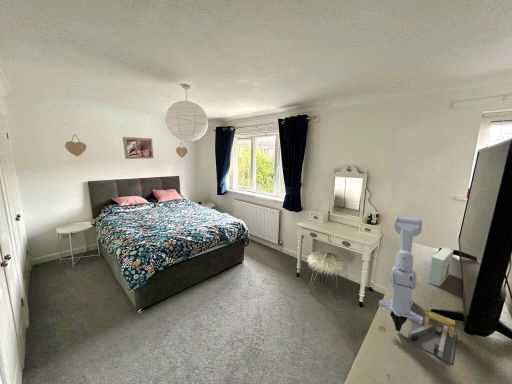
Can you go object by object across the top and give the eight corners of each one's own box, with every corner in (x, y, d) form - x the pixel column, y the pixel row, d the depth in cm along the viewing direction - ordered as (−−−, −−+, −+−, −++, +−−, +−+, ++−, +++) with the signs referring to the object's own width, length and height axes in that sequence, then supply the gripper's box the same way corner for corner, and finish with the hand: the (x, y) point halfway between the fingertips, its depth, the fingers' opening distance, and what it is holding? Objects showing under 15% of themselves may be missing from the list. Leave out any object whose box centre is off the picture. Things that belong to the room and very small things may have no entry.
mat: (416, 316, 93) (416, 316, 93) (456, 333, 84) (456, 333, 84) (406, 341, 81) (406, 340, 81) (451, 364, 72) (452, 363, 72)
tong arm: (429, 328, 86) (429, 324, 86) (435, 332, 84) (435, 327, 84) (408, 337, 82) (408, 332, 82) (413, 341, 80) (413, 336, 80)
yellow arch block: (425, 321, 90) (426, 309, 89) (453, 333, 83) (455, 321, 83) (424, 325, 88) (425, 313, 87) (452, 337, 81) (454, 325, 81)
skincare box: (440, 287, 114) (443, 260, 111) (428, 283, 118) (430, 256, 116) (450, 274, 126) (453, 249, 124) (439, 270, 130) (441, 246, 128)
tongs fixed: (436, 327, 87) (436, 322, 87) (447, 332, 84) (448, 326, 84) (429, 351, 76) (430, 345, 76) (442, 358, 74) (442, 351, 73)
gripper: (377, 295, 86) (375, 325, 88) (421, 313, 75) (418, 346, 77) (382, 288, 91) (380, 316, 93) (425, 304, 80) (422, 335, 82)
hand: (398, 329), depth 85 cm, fingers closed
